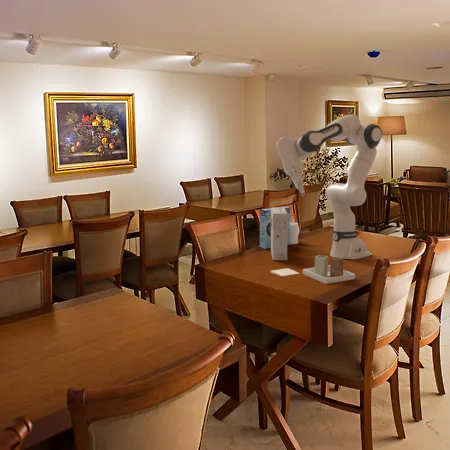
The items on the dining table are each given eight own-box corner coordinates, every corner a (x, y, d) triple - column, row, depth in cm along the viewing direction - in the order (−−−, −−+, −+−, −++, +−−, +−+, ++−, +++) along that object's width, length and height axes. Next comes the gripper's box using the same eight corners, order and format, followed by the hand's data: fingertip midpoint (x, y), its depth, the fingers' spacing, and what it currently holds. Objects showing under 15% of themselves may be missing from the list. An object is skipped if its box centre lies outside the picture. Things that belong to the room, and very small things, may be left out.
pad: (288, 270, 246) (288, 268, 246) (299, 275, 237) (299, 273, 237) (270, 272, 242) (270, 270, 242) (281, 278, 233) (281, 275, 233)
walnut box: (333, 275, 233) (334, 256, 231) (343, 277, 230) (343, 258, 229) (329, 278, 229) (330, 258, 228) (339, 279, 227) (339, 260, 225)
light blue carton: (284, 243, 305) (285, 206, 301) (290, 244, 301) (290, 207, 297) (259, 247, 295) (259, 209, 290) (264, 249, 290) (264, 210, 286)
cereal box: (287, 260, 265) (287, 213, 261) (272, 260, 266) (273, 213, 261) (284, 250, 287) (284, 207, 282) (270, 250, 287) (270, 207, 282)
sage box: (318, 273, 237) (318, 254, 235) (327, 274, 234) (327, 255, 233) (314, 275, 233) (314, 256, 231) (323, 277, 231) (324, 257, 229)
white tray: (330, 271, 244) (330, 265, 243) (354, 280, 228) (355, 274, 227) (302, 275, 237) (302, 269, 236) (326, 285, 221) (326, 278, 220)
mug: (294, 239, 315) (295, 221, 313) (304, 242, 308) (305, 222, 306) (281, 242, 308) (281, 223, 306) (291, 244, 301) (291, 225, 299)
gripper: (299, 161, 234) (309, 189, 233) (299, 169, 254) (309, 194, 253) (286, 166, 235) (296, 193, 233) (287, 173, 255) (297, 198, 253)
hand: (303, 194), depth 243 cm, fingers open, 8 cm apart
